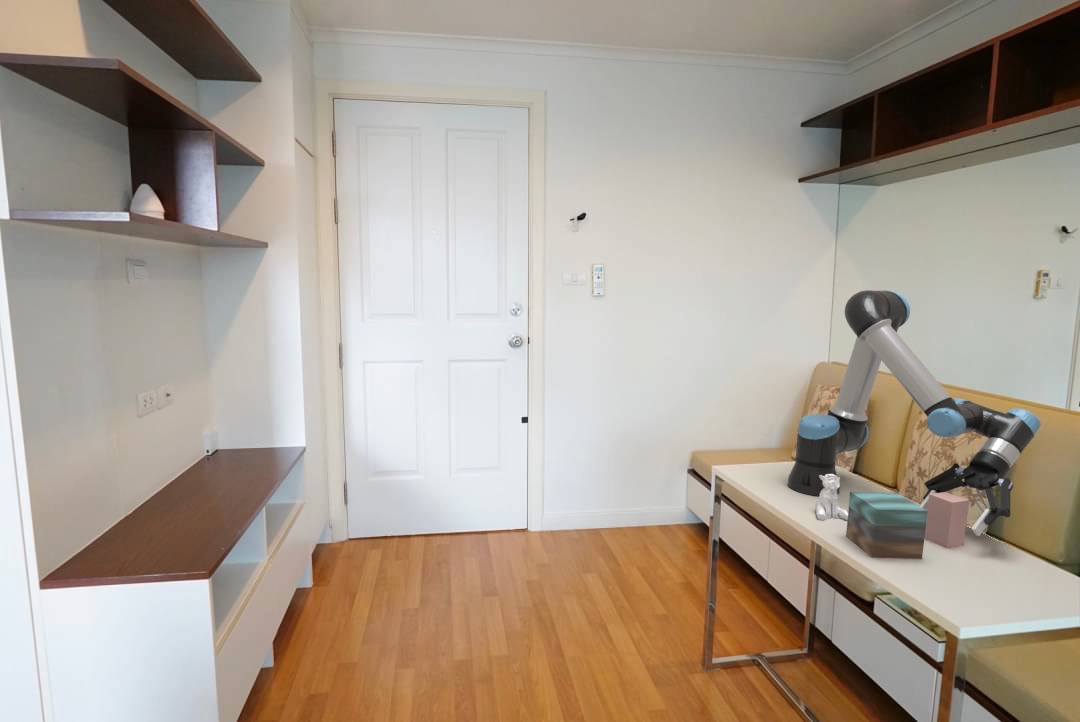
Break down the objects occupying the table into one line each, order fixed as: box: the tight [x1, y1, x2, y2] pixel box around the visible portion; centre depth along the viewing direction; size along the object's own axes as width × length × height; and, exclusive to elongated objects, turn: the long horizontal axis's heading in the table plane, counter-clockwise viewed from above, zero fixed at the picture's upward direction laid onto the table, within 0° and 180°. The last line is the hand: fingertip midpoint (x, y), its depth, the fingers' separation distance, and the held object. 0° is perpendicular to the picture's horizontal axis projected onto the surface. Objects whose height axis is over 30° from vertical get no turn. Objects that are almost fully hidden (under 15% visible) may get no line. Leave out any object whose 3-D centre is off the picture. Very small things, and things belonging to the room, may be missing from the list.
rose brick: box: [924, 491, 970, 549], centre depth 147 cm, size 6×6×12 cm
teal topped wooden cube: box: [845, 491, 928, 560], centre depth 143 cm, size 12×12×12 cm
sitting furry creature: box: [815, 474, 848, 521], centre depth 163 cm, size 10×9×12 cm
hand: (947, 521), depth 146 cm, fingers open, 13 cm apart
